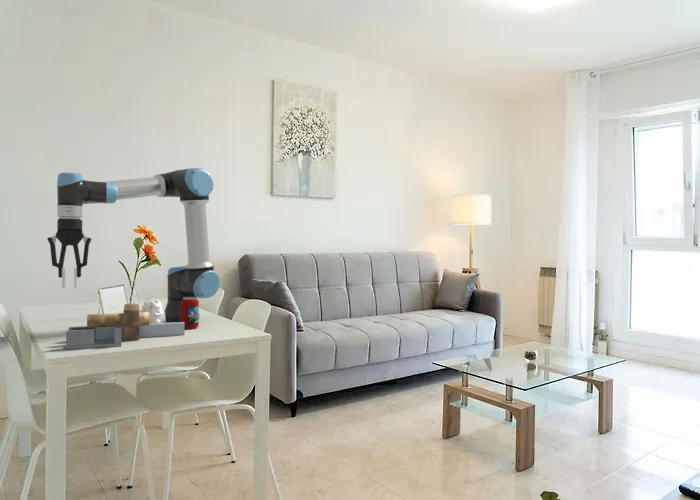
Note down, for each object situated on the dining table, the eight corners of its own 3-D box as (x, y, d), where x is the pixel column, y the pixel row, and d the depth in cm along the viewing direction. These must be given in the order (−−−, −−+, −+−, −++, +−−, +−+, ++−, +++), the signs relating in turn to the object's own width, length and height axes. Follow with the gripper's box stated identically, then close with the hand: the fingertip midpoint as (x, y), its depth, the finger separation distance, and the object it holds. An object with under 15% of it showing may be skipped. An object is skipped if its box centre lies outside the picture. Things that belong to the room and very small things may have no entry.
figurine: (147, 326, 207) (147, 296, 207) (170, 327, 206) (170, 297, 206) (134, 330, 197) (134, 299, 197) (158, 331, 196) (158, 300, 196)
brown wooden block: (138, 331, 195) (138, 303, 195) (139, 340, 179) (139, 309, 179) (124, 332, 193) (124, 304, 193) (123, 341, 177) (123, 310, 177)
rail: (183, 333, 192) (183, 322, 192) (184, 334, 190) (184, 323, 190) (94, 338, 180) (94, 326, 180) (93, 340, 178) (93, 327, 178)
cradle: (121, 341, 177) (121, 324, 177) (121, 346, 169) (121, 328, 169) (69, 344, 171) (69, 326, 171) (65, 349, 163) (65, 331, 162)
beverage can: (193, 329, 200) (193, 299, 200) (177, 329, 202) (177, 298, 201) (201, 327, 207) (201, 297, 206) (186, 326, 208) (186, 296, 208)
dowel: (149, 323, 188) (149, 311, 188) (149, 325, 184) (149, 313, 184) (88, 326, 180) (88, 313, 180) (87, 328, 176) (87, 315, 176)
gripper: (41, 217, 169) (41, 288, 169) (95, 218, 175) (95, 287, 176) (44, 218, 176) (44, 286, 176) (96, 219, 182) (96, 285, 182)
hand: (69, 286), depth 176 cm, fingers open, 3 cm apart
